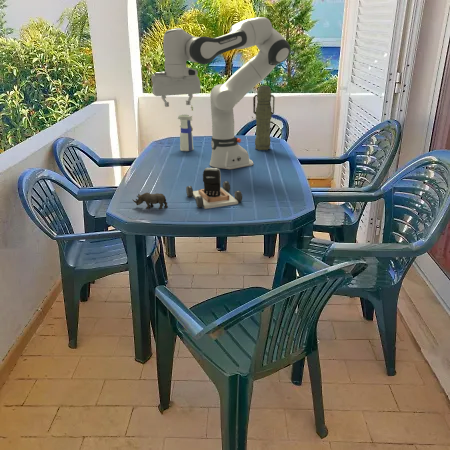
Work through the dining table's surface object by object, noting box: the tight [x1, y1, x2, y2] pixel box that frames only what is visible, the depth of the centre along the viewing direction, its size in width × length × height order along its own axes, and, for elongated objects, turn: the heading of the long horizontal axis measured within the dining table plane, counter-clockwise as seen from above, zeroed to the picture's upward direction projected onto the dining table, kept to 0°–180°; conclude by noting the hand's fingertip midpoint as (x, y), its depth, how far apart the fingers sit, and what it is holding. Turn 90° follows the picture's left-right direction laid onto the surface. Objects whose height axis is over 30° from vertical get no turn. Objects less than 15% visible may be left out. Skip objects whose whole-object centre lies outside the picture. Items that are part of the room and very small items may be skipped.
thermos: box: [252, 85, 276, 151], centre depth 248 cm, size 9×12×35 cm
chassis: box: [185, 180, 243, 210], centre depth 179 cm, size 18×18×4 cm
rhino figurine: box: [131, 192, 168, 210], centre depth 171 cm, size 4×14×6 cm, turn 82°
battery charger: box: [202, 167, 222, 197], centre depth 177 cm, size 7×4×11 cm, turn 79°
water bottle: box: [177, 106, 194, 152], centre depth 250 cm, size 8×9×25 cm
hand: (177, 105), depth 187 cm, fingers open, 8 cm apart
